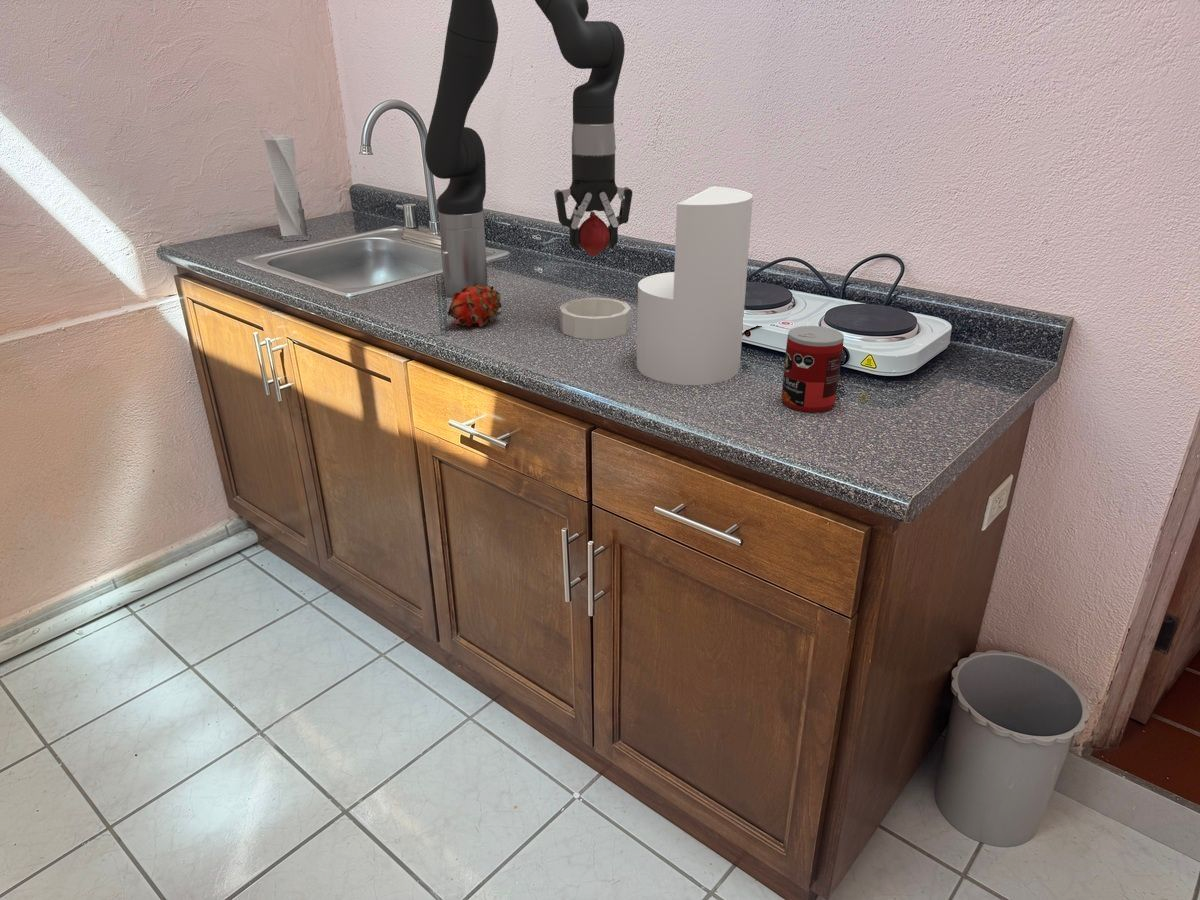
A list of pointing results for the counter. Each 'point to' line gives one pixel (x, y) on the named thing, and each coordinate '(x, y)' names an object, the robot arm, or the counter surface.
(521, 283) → the counter surface
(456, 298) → the dragon fruit
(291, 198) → the skyscraper
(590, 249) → the onion
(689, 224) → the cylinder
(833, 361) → the canned food
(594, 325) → the ramekin
